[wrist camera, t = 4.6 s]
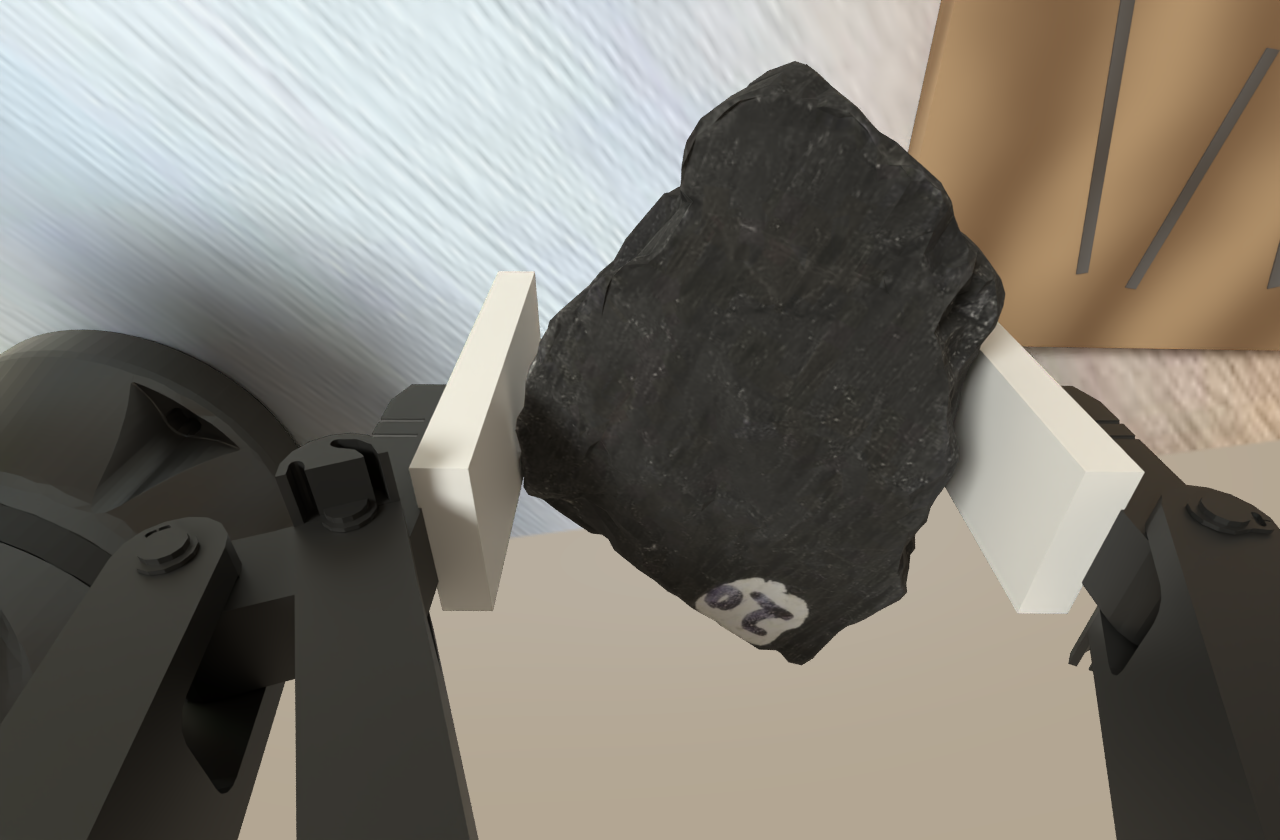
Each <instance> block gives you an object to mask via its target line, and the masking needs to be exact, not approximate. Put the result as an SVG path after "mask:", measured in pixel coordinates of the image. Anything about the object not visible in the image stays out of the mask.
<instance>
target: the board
mask: <svg viewBox="0 0 1280 840" xmlns="http://www.w3.org/2000/svg"><path fill="white" fill-rule="evenodd" d="M908 153H909V154H910V155H911V156H912V157H913V158H915V159H916V160H917V161H918V162H919V163H920V164H922V165H923V166H924V167H925V168H926V169H927V170H928V171H929V172H930V173H931V174H932V175H934V176H935V177H936V178H937V179H938V180H939V181H940V182H941V183H942V185H943V187H944V188H945V190H946V192H947V194H948V196H949V197H950V199H951V201H952V205H953V211H954V216H955V219H956V221H957V224H958V227H959V229H960V231H961V232H962V233H964V234H965V235H966V236H967V237H969V238H970V239H971V240H972V241H973V242H974V243H975V244H976V245H977V246H978V247H979V248H980V250H981V251H982V252H983V254H984V255H985V256H986V258H987V259H988V261H989V262H990V263H991V265H992V266H993V268H994V269H995V271H996V272H997V274H998V275H999V276H1000V278H1001V280H1002V283H1003V287H1004V290H1005V300H1004V306H1003V309H1002V311H1001V314H1000V317H999V319H998V322H999V323H1000V324H1001V325H1002V326H1003V327H1004V329H1005V330H1006V331H1007V332H1008V333H1009V334H1010V335H1011V336H1012V337H1013V338H1014V339H1015V340H1016V341H1017V342H1018V343H1019V344H1020V345H1021V346H1031V347H1093V348H1156V349H1218V350H1280V0H941V4H940V8H939V13H938V18H937V22H936V27H935V31H934V36H933V40H932V45H931V50H930V54H929V59H928V63H927V68H926V72H925V77H924V82H923V86H922V91H921V95H920V100H919V104H918V109H917V114H916V118H915V123H914V127H913V132H912V136H911V141H910V146H909V150H908Z"/></svg>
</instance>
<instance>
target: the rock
mask: <svg viewBox="0 0 1280 840" xmlns="http://www.w3.org/2000/svg"><path fill="white" fill-rule="evenodd" d="M1004 300H1005V290H1004V287H1003V283H1002V280H1001V278H1000V276H999V275H998V274H997V272H996V271H995V269H994V268H993V266H992V265H991V263H990V262H989V261H988V259H987V258H986V256H985V255H984V254H983V252H982V251H981V250H980V248H979V247H978V246H977V245H976V244H975V243H974V242H973V241H972V240H971V239H970V238H969V237H967V236H966V235H965V234H964V233H962V232H961V231H960V229H959V227H958V224H957V221H956V219H955V216H954V211H953V205H952V201H951V199H950V197H949V196H948V194H947V192H946V190H945V188H944V187H943V185H942V183H941V182H940V181H939V180H938V179H937V178H936V177H935V176H934V175H932V174H931V173H930V172H929V171H928V170H927V169H926V168H925V167H924V166H923V165H922V164H920V163H919V162H918V161H917V160H916V159H915V158H913V157H912V156H911V155H910V154H909V153H908V152H906V151H905V150H904V149H903V148H902V147H901V146H900V145H899V144H898V143H897V142H895V141H894V140H892V139H890V138H889V137H887V136H886V135H884V134H882V133H881V132H879V131H878V130H877V129H876V128H875V127H874V126H873V125H872V124H871V122H870V121H869V120H868V119H867V118H866V116H865V115H864V114H863V113H862V112H861V111H860V109H859V108H858V107H857V106H855V105H854V104H853V103H852V102H850V101H849V100H848V99H847V98H846V97H844V96H843V95H842V94H841V93H839V92H838V91H837V90H836V89H834V88H833V87H832V86H831V85H830V84H829V83H828V82H827V81H826V80H825V79H824V78H823V77H822V76H820V75H819V74H818V73H817V72H816V71H815V70H813V69H812V68H811V67H809V66H808V65H807V64H806V65H805V64H802V63H799V62H796V61H794V62H791V63H788V64H786V65H783V66H780V67H778V68H775V69H772V70H769V71H767V72H766V73H764V74H763V75H762V76H760V77H759V78H757V79H756V80H754V81H753V82H752V83H750V84H749V85H748V87H747V88H745V89H743V90H741V91H739V92H737V93H736V94H734V95H732V96H730V97H729V98H728V99H726V100H725V101H724V102H722V103H721V104H720V105H718V106H717V107H716V108H714V109H713V110H712V111H710V112H709V113H708V114H706V115H705V116H704V117H702V118H701V119H700V120H699V122H698V124H697V125H696V127H695V129H694V130H693V132H692V133H691V135H690V137H689V138H688V140H687V142H686V146H685V149H684V155H683V162H682V168H681V185H680V187H678V188H676V189H674V190H673V191H671V192H669V193H664V194H663V195H662V197H661V198H660V199H659V200H658V201H657V202H656V204H655V205H654V206H653V207H652V208H651V210H650V211H649V212H648V213H647V214H646V215H645V217H644V218H643V219H642V220H641V221H640V223H639V224H638V225H637V226H636V227H635V229H634V230H633V231H632V232H631V233H630V234H629V236H628V237H627V238H626V239H625V241H624V243H623V245H622V247H621V248H620V250H619V252H618V254H617V256H616V257H615V259H614V261H612V262H611V263H610V264H609V265H608V266H607V267H606V268H604V269H603V270H602V271H601V272H600V273H599V274H598V275H597V276H596V278H595V279H594V280H593V281H592V282H591V284H590V285H589V286H588V287H587V288H586V289H584V290H583V291H582V292H581V293H580V294H579V295H577V296H576V297H575V298H574V299H573V300H572V301H571V302H569V303H568V304H567V305H566V306H565V307H564V308H563V309H561V310H560V311H559V312H558V313H557V314H556V315H555V316H554V317H553V318H552V319H551V320H550V321H549V325H548V329H547V331H546V332H545V334H544V336H543V337H542V339H541V341H540V342H539V346H538V352H537V355H536V356H535V358H534V360H533V361H532V363H531V365H530V366H529V370H528V374H527V378H526V382H525V399H524V407H523V409H522V411H521V412H520V414H519V416H518V417H517V421H516V429H515V431H516V435H517V438H518V441H519V445H520V448H521V456H520V463H521V470H522V475H523V477H524V486H523V487H524V489H525V490H526V492H527V493H528V495H531V496H534V497H538V498H541V499H543V500H545V501H546V502H547V503H548V504H550V505H551V506H552V507H553V508H555V509H556V510H558V511H559V512H560V513H562V514H563V515H565V516H566V517H568V518H569V519H571V520H572V521H573V522H575V523H576V524H578V525H579V526H581V527H582V528H584V529H586V530H587V531H588V532H590V533H593V534H602V535H603V536H605V537H606V538H608V539H609V541H610V543H611V545H612V547H613V549H614V550H615V551H616V552H617V553H619V554H620V555H621V556H622V557H623V558H625V559H626V560H627V561H629V562H630V563H631V564H632V565H633V566H635V567H636V568H637V569H638V570H640V571H641V572H643V573H644V574H646V575H647V576H649V577H650V578H652V579H653V580H655V581H656V582H657V583H658V584H659V585H661V586H662V587H663V588H664V589H666V590H667V591H668V592H670V593H672V594H674V595H676V596H678V597H679V598H680V599H681V600H683V601H684V602H685V603H686V604H688V605H689V606H690V607H691V608H693V609H695V610H696V611H698V612H700V613H701V614H703V615H705V616H707V617H709V618H711V619H713V620H714V621H716V622H717V623H718V624H719V625H720V626H722V627H724V628H725V629H727V630H729V631H730V632H732V633H733V634H735V635H737V636H738V637H740V638H742V639H743V640H745V641H746V642H748V643H750V644H751V645H753V646H754V647H756V648H758V649H761V650H777V651H778V652H780V653H781V654H782V655H783V656H784V657H785V659H786V660H787V661H788V662H790V663H795V664H799V665H803V664H805V663H806V662H808V661H810V660H811V659H813V658H814V656H815V655H816V654H817V653H818V652H819V651H820V650H821V649H822V648H823V647H824V646H825V645H826V644H827V643H828V642H829V641H830V640H831V639H832V638H833V637H834V636H835V635H836V634H837V633H838V632H839V631H841V630H842V629H844V628H845V627H847V626H849V625H852V624H855V623H857V622H860V621H862V620H864V619H866V618H867V617H869V616H871V615H873V614H874V613H876V612H878V611H879V610H881V609H883V608H885V607H887V606H889V605H891V604H893V603H895V602H897V601H899V600H900V599H901V598H902V597H903V596H904V595H905V594H906V593H907V587H906V581H907V575H908V570H909V563H910V554H911V553H912V552H913V551H914V549H915V534H916V533H917V531H918V530H919V529H920V528H921V527H922V526H923V525H924V524H925V523H926V522H927V518H928V514H929V511H930V508H931V506H932V504H933V502H934V501H935V499H936V498H937V496H938V495H939V494H940V492H941V491H942V490H943V488H944V487H945V485H946V484H947V483H948V481H949V480H950V478H951V477H952V476H953V473H954V471H955V468H956V466H957V463H958V461H959V446H958V440H957V437H956V435H955V432H954V426H953V421H954V418H955V416H956V413H957V411H958V408H959V401H960V394H961V387H962V385H963V382H964V379H965V377H966V374H967V371H968V369H969V366H970V364H971V363H972V362H973V361H974V359H975V358H976V357H977V355H978V352H979V350H980V347H981V344H982V343H983V342H984V341H985V340H986V338H987V337H988V336H989V335H990V333H991V332H992V331H993V330H994V328H995V327H996V325H997V322H998V319H999V317H1000V314H1001V311H1002V309H1003V306H1004Z"/></svg>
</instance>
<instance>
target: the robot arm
mask: <svg viewBox="0 0 1280 840" xmlns="http://www.w3.org/2000/svg"><path fill="white" fill-rule="evenodd" d="M540 341H541V338H540V326H539V315H538V303H537V292H536V280H535V272H520V271H498V273H497V275H496V278H495V280H494V282H493V284H492V286H491V288H490V291H489V293H488V295H487V297H486V299H485V302H484V304H483V306H482V308H481V310H480V313H479V315H478V317H477V319H476V321H475V324H474V326H473V328H472V330H471V332H470V335H469V337H468V339H467V341H466V343H465V346H464V348H463V350H462V352H461V354H460V357H459V359H458V361H457V363H456V365H455V368H454V370H453V372H452V374H451V376H450V379H449V381H448V383H447V385H434V384H412V385H410V386H409V387H408V388H407V389H405V390H404V391H403V392H401V393H400V394H399V395H397V396H396V397H395V398H393V399H392V400H391V401H390V403H389V405H388V407H387V409H386V410H385V412H384V414H383V416H382V417H381V422H379V423H378V424H377V426H376V428H375V430H374V432H373V433H372V434H373V437H371V436H369V435H362V434H354V433H347V434H338V435H330V436H327V437H323V438H320V439H317V440H314V441H311V442H309V443H307V444H305V445H303V446H301V447H300V448H297V446H296V444H295V443H294V441H293V440H292V438H291V437H290V436H289V434H288V433H287V432H286V430H285V429H284V428H283V426H282V425H281V424H280V423H279V422H278V421H277V419H276V418H275V417H274V416H273V415H272V414H271V413H270V412H269V411H268V410H267V409H266V408H265V407H264V406H263V405H262V404H261V403H260V402H259V401H257V400H256V399H255V398H254V397H253V396H252V395H250V394H249V393H248V392H247V391H245V390H244V389H243V388H242V387H240V386H239V385H237V384H236V383H235V382H233V381H232V380H230V379H229V378H227V377H226V376H224V375H223V374H221V373H220V372H218V371H216V370H215V369H213V368H211V367H210V366H208V365H206V364H204V363H202V362H200V361H198V360H197V359H195V358H192V357H190V356H188V355H186V354H184V353H182V352H179V351H177V350H174V349H172V348H170V347H167V346H164V345H161V344H158V343H155V342H152V341H149V340H146V339H142V338H139V337H134V336H130V335H126V334H120V333H114V332H107V331H98V330H66V331H57V332H51V333H46V334H42V335H38V336H35V337H32V338H29V339H27V340H25V341H22V342H20V343H18V344H16V345H15V346H13V347H11V348H10V349H8V350H7V351H5V352H3V353H2V354H0V840H237V839H238V836H239V833H240V829H241V826H242V823H243V819H244V816H245V813H246V809H247V806H248V803H249V800H250V796H251V793H252V790H253V786H254V783H255V780H256V777H257V773H258V770H259V767H260V763H261V760H262V757H263V753H264V750H265V747H266V743H267V740H268V737H269V734H270V730H271V727H272V723H273V720H274V717H275V714H276V710H277V707H278V704H279V700H280V697H281V694H282V691H283V687H284V684H285V681H289V680H293V679H295V696H296V697H295V701H296V702H295V705H296V706H295V707H296V708H295V710H296V822H297V823H296V827H297V828H296V830H297V840H478V835H477V831H476V826H475V821H474V817H473V812H472V807H471V803H470V798H469V793H468V789H467V784H466V779H465V774H464V770H463V765H462V760H461V756H460V751H459V747H458V742H457V737H456V733H455V728H454V723H453V719H452V714H451V709H450V705H449V700H448V695H447V691H446V686H445V681H444V676H443V672H442V667H441V662H440V658H439V654H438V649H437V644H436V639H435V634H434V629H433V626H432V621H431V618H430V614H429V610H430V607H431V604H432V600H433V597H434V594H435V591H436V588H437V589H438V592H439V597H440V601H441V605H442V610H443V611H452V610H453V611H454V610H456V611H493V609H494V604H495V600H496V595H497V591H498V587H499V582H500V578H501V573H502V569H503V565H504V560H505V555H506V551H507V547H508V543H509V538H510V534H511V529H512V525H513V520H514V516H515V512H516V507H517V503H518V498H519V494H520V490H521V485H522V481H523V475H522V470H521V463H520V456H521V448H520V445H519V441H518V438H517V435H516V431H515V429H516V421H517V417H518V416H519V414H520V412H521V411H522V409H523V407H524V399H525V382H526V378H527V374H528V370H529V366H530V365H531V363H532V361H533V360H534V358H535V356H536V355H537V352H538V346H539V342H540ZM1119 421H1120V420H1119V419H1118V418H1117V417H1116V416H1115V415H1113V414H1112V413H1111V412H1110V411H1109V410H1108V409H1107V408H1106V407H1105V406H1104V405H1103V404H1102V403H1101V402H1100V401H1098V400H1096V399H1094V398H1093V397H1091V396H1089V395H1087V394H1086V393H1084V392H1082V391H1080V390H1079V389H1077V388H1075V387H1073V386H1060V385H1059V384H1058V383H1057V382H1056V381H1055V380H1054V379H1053V378H1052V377H1051V376H1050V375H1049V374H1048V373H1047V372H1046V371H1045V369H1044V368H1043V367H1042V366H1041V365H1040V364H1039V363H1038V362H1037V361H1036V360H1035V359H1034V358H1033V357H1032V356H1031V355H1030V354H1029V353H1028V352H1027V351H1026V350H1025V349H1024V348H1023V347H1022V346H1021V345H1020V344H1019V343H1018V342H1017V341H1016V340H1015V339H1014V338H1013V337H1012V336H1011V335H1010V334H1009V333H1008V332H1007V331H1006V330H1005V329H1004V327H1003V326H1002V325H1001V324H1000V323H999V322H997V325H996V327H995V328H994V330H993V331H992V332H991V333H990V335H989V336H988V337H987V338H986V340H985V341H984V342H983V343H982V344H981V347H980V350H979V352H978V355H977V357H976V358H975V359H974V361H973V362H972V363H971V364H970V366H969V369H968V371H967V374H966V377H965V379H964V382H963V385H962V387H961V394H960V401H959V408H958V411H957V413H956V416H955V418H954V421H953V426H954V432H955V435H956V437H957V440H958V446H959V461H958V463H957V466H956V468H955V471H954V473H953V476H952V477H951V478H950V480H949V481H948V483H947V484H946V485H945V488H946V489H947V491H948V493H949V495H950V496H951V498H952V500H953V502H954V503H955V505H956V507H957V509H958V510H959V512H960V514H961V516H962V517H963V519H964V521H965V523H966V524H967V526H968V528H969V530H970V531H971V533H972V535H973V537H974V538H975V540H976V542H977V544H978V545H979V547H980V549H981V551H982V552H983V554H984V556H985V558H986V559H987V561H988V563H989V565H990V566H991V568H992V570H993V572H994V573H995V575H996V577H997V579H998V580H999V582H1000V584H1001V586H1002V587H1003V589H1004V591H1005V593H1006V594H1007V596H1008V598H1009V600H1010V601H1011V603H1012V605H1013V607H1014V608H1015V610H1016V612H1017V613H1038V614H1041V613H1042V614H1044V613H1045V614H1068V612H1069V610H1070V608H1071V607H1072V604H1073V603H1074V601H1075V599H1076V597H1077V595H1078V594H1079V592H1080V590H1081V588H1082V586H1083V585H1084V587H1085V588H1086V590H1087V591H1088V593H1089V594H1090V596H1091V597H1092V598H1093V600H1094V601H1095V603H1096V604H1097V605H1098V606H1097V608H1096V610H1095V611H1094V613H1093V615H1092V616H1091V618H1090V620H1089V622H1088V623H1087V625H1086V627H1085V629H1084V630H1083V632H1082V634H1081V635H1080V637H1079V639H1078V641H1077V642H1076V644H1075V646H1074V648H1073V649H1072V651H1071V653H1070V658H1069V664H1071V665H1074V666H1077V665H1078V663H1079V662H1080V660H1081V658H1082V656H1083V655H1084V653H1085V652H1087V651H1089V650H1090V653H1091V660H1092V664H1091V665H1090V667H1089V670H1090V671H1093V674H1094V681H1095V688H1096V696H1097V702H1098V710H1099V717H1100V724H1101V731H1102V738H1103V745H1104V752H1105V759H1106V767H1107V774H1108V780H1109V788H1110V794H1111V801H1112V809H1113V816H1114V823H1115V830H1116V837H1117V840H1280V529H1279V528H1278V527H1277V525H1276V524H1275V523H1274V522H1273V520H1272V519H1271V518H1270V517H1269V516H1267V515H1266V514H1264V513H1263V512H1261V511H1260V510H1259V509H1257V508H1256V507H1255V506H1253V505H1251V504H1249V503H1247V502H1245V501H1243V500H1241V499H1239V498H1237V497H1235V496H1233V495H1231V494H1227V493H1224V492H1221V491H1217V490H1214V489H1211V488H1207V487H1198V486H1191V485H1186V484H1185V483H1184V482H1183V481H1181V479H1179V478H1178V477H1177V476H1176V475H1175V474H1174V473H1173V472H1172V471H1171V470H1170V469H1169V468H1168V467H1167V466H1166V465H1165V464H1164V463H1163V462H1162V461H1161V460H1160V459H1159V458H1158V457H1157V456H1156V455H1155V454H1154V453H1153V452H1152V451H1151V450H1150V449H1149V448H1148V447H1146V446H1145V445H1144V444H1143V443H1142V442H1141V441H1140V440H1139V439H1135V435H1134V434H1133V433H1132V432H1131V431H1130V430H1129V429H1128V428H1127V427H1126V426H1125V425H1124V424H1119Z"/></svg>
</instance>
